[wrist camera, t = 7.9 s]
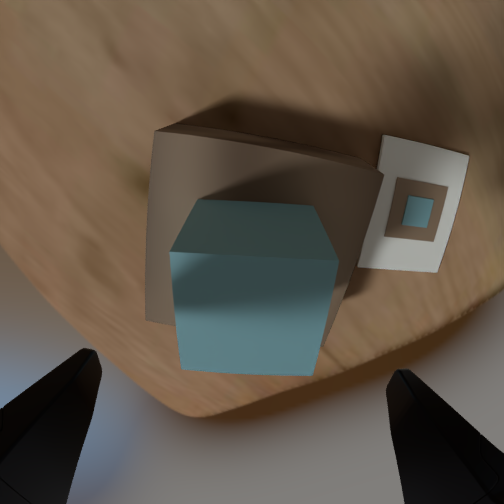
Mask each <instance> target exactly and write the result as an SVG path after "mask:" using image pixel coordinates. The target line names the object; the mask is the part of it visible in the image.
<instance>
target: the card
mask: <svg viewBox="0 0 504 504" xmlns="http://www.w3.org/2000/svg"><path fill="white" fill-rule="evenodd" d="M468 161H469V156H468V155H465V154H461V153H458V152H454V151H451V150H447V149H443V148H440V147H436V146H432V145H428V144H424V143H420V142H416V141H411V140H407V139H402V138H398V137H393V136H388V135H384V134H383V135H382V141H381V148H380V154H379V160H378V166H377V170H379V171H380V172H381V173H383V174H384V178H383V181H382V185H381V188H380V192H379V195H378V198H377V202H376V205H375V208H374V211H373V214H372V217H371V221H370V224H369V227H368V230H367V233H366V236H365V239H364V242H363V245H362V248H361V250H360V253H359V256H358V260H357V264H356V265H357V267H361V268H376V269H390V270H405V271H421V272H436V273H437V272H438V269H439V266H440V263H441V260H442V257H443V254H444V251H445V248H446V245H447V242H448V239H449V235H450V232H451V229H452V225H453V222H454V218H455V215H456V211H457V207H458V204H459V200H460V196H461V192H462V188H463V184H464V179H465V175H466V170H467V165H468Z"/></svg>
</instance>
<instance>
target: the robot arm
mask: <svg viewBox="0 0 504 504" xmlns="http://www.w3.org/2000/svg"><path fill="white" fill-rule="evenodd" d="M101 377H102V368H101V364H100V362H99V358H98V355H97V352H96V351H95V350H92V349H87V348H83V349H81V350H79V351H78V352H77V353H75V354H74V355H72V356H71V357H70V358H68V359H67V360H66V361H64V362H63V363H62V364H60V365H59V366H57V367H56V368H55V369H53V370H52V371H51V372H49V373H48V374H47V375H45V376H44V377H42V378H41V379H40V380H38V381H37V382H36V383H34V384H33V385H32V386H30V387H29V388H28V389H26V390H25V391H24V392H22V393H21V394H20V395H18V396H17V397H16V398H14V399H13V400H12V401H10V402H9V403H7V404H6V405H5V406H4V407H3V408H1V409H0V504H66V503H67V499H68V495H69V491H70V488H71V484H72V480H73V477H74V473H75V470H76V467H77V463H78V460H79V457H80V453H81V450H82V447H83V444H84V441H85V438H86V434H87V432H88V428H89V425H90V422H91V419H92V416H93V411H94V407H95V402H96V398H97V394H98V389H99V385H100V381H101ZM386 397H387V404H388V413H389V421H390V430H391V436H392V441H393V446H394V450H395V455H396V460H397V465H398V470H399V475H400V480H401V485H402V491H403V497H404V502H405V504H504V453H503V452H501V451H500V450H499V449H498V448H496V447H495V446H494V445H493V444H492V443H491V442H490V441H488V440H487V439H486V438H485V437H484V436H483V435H480V432H478V431H477V430H476V429H475V428H474V427H473V426H472V425H471V424H470V423H469V422H467V421H466V420H465V419H464V418H463V417H462V416H461V415H460V414H459V413H458V412H456V411H455V410H454V409H453V408H452V407H451V406H450V405H449V404H448V403H446V402H445V401H444V400H443V399H442V398H441V397H440V396H438V394H436V393H435V392H434V391H433V390H432V389H431V388H430V387H428V386H427V385H426V384H425V383H424V382H423V381H422V380H421V379H420V378H418V377H417V376H416V375H415V374H414V373H413V372H412V371H411V370H409V369H397V370H396V371H395V372H394V374H393V376H392V378H391V379H390V381H389V383H388V385H387V388H386Z"/></svg>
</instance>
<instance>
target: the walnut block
mask: <svg viewBox="0 0 504 504" xmlns="http://www.w3.org/2000/svg"><path fill="white" fill-rule="evenodd" d="M383 178H384V174H383V173H381V172H380V171H379V170H377V169H376V168H374V167H373V166H371V165H370V164H368V163H367V162H365V161H364V160H362V159H361V158H357V157H353V156H349V155H346V154H342V153H338V152H333V151H329V150H325V149H321V148H317V147H312V146H308V145H303V144H298V143H294V142H289V141H284V140H279V139H274V138H269V137H263V136H258V135H252V134H246V133H240V132H234V131H228V130H221V129H214V128H207V127H200V126H192V125H184V124H172V125H169V126H167V127H164V128H161V129H159V130H156V131H154V140H153V149H152V159H151V170H150V182H149V196H148V212H147V232H146V265H145V315H146V320H147V321H152V322H157V323H162V324H167V325H172V326H176V321H175V312H174V302H173V291H172V279H171V267H170V253H169V252H170V250H171V248H172V246H173V244H174V242H175V240H176V238H177V236H178V234H179V232H180V231H181V229H182V227H183V225H184V223H185V221H186V219H187V217H188V216H189V214H190V212H191V210H192V208H193V206H194V205H195V203H196V201H197V199H203V200H228V201H248V202H266V203H282V204H297V205H311V206H314V208H315V210H316V212H317V214H318V216H319V219H320V221H321V223H322V225H323V227H324V229H325V231H326V233H327V235H328V237H329V240H330V242H331V244H332V246H333V248H334V250H335V253H336V255H337V257H338V259H339V265H338V270H337V275H336V279H335V284H334V289H333V294H332V298H331V303H330V307H329V312H328V316H327V320H326V325H325V329H324V333H323V337H322V341H321V345H320V347H323V346H324V344H325V341H326V339H327V336H328V334H329V332H330V329H331V327H332V324H333V322H334V320H335V317H336V315H337V312H338V310H339V307H340V304H341V302H342V299H343V297H344V294H345V292H346V289H347V286H348V284H349V281H350V278H351V276H352V273H353V270H354V267H355V265H356V262H357V259H358V256H359V253H360V250H361V248H362V245H363V242H364V239H365V236H366V233H367V230H368V227H369V224H370V221H371V217H372V214H373V211H374V208H375V205H376V202H377V198H378V195H379V192H380V188H381V185H382V181H383Z"/></svg>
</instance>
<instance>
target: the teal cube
mask: <svg viewBox="0 0 504 504" xmlns="http://www.w3.org/2000/svg"><path fill="white" fill-rule="evenodd" d="M169 253H170V267H171V279H172V291H173V302H174V312H175V321H176V330H177V339H178V347H179V355H180V363H181V369H185V370H195V371H206V372H220V373H235V374H255V375H298V376H312V375H313V372H314V368H315V365H316V361H317V357H318V353H319V349H320V345H321V341H322V337H323V333H324V329H325V325H326V320H327V316H328V312H329V307H330V303H331V298H332V294H333V289H334V284H335V279H336V275H337V270H338V265H339V259H338V257H337V255H336V253H335V250H334V248H333V246H332V244H331V242H330V240H329V237H328V235H327V233H326V231H325V229H324V227H323V225H322V223H321V221H320V219H319V216H318V214H317V212H316V210H315V208H314V206H311V205H297V204H282V203H266V202H248V201H228V200H203V199H197V201H196V203H195V205H194V206H193V208H192V210H191V212H190V214H189V216H188V217H187V219H186V221H185V223H184V225H183V227H182V229H181V231H180V232H179V234H178V236H177V238H176V240H175V242H174V244H173V246H172V248H171V250H170V252H169Z"/></svg>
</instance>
